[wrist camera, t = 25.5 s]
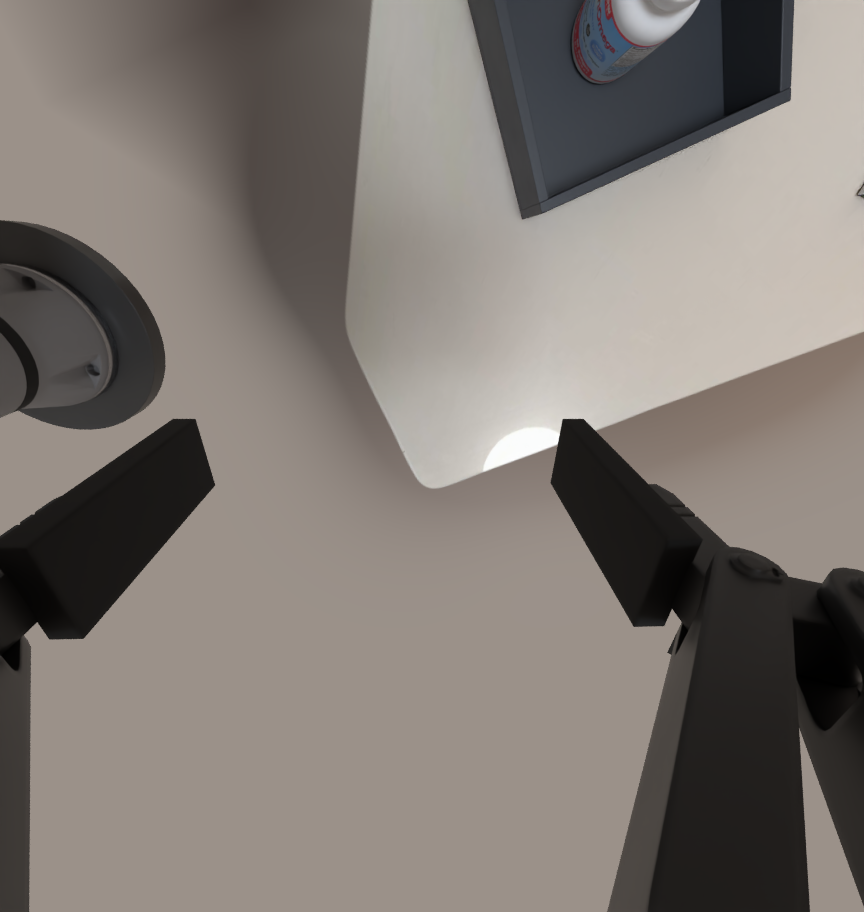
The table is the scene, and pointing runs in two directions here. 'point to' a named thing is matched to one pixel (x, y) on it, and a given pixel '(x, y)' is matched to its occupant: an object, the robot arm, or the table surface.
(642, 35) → the pill bottle
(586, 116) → the tray
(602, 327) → the table surface
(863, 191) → the ink box
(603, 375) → the table surface
